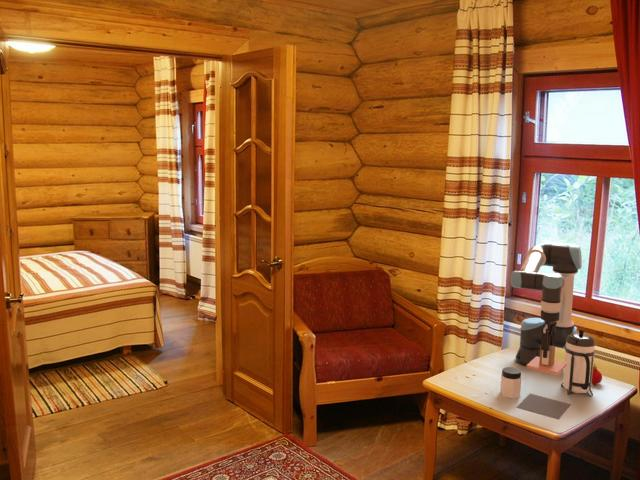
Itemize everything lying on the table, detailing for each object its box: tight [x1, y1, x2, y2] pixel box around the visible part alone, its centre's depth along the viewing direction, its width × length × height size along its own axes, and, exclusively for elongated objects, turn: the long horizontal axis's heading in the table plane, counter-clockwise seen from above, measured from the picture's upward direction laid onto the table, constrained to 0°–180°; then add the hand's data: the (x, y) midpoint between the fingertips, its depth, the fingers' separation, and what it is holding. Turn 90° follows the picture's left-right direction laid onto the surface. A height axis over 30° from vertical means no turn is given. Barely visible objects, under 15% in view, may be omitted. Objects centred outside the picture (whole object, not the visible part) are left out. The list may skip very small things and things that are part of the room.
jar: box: [500, 366, 522, 399], centre depth 271 cm, size 9×8×12 cm
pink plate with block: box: [525, 345, 567, 376], centre depth 256 cm, size 13×13×9 cm
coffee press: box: [560, 328, 597, 397], centre depth 273 cm, size 17×16×30 cm
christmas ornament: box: [591, 363, 603, 385], centre depth 284 cm, size 7×7×10 cm
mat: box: [516, 393, 572, 420], centre depth 260 cm, size 18×18×1 cm
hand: (546, 362), depth 257 cm, fingers closed on pink plate with block, 4 cm apart
